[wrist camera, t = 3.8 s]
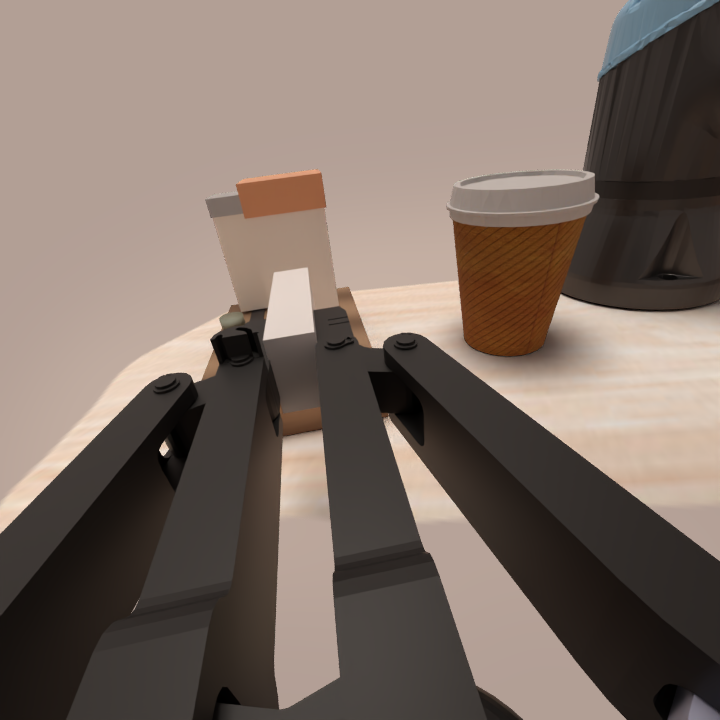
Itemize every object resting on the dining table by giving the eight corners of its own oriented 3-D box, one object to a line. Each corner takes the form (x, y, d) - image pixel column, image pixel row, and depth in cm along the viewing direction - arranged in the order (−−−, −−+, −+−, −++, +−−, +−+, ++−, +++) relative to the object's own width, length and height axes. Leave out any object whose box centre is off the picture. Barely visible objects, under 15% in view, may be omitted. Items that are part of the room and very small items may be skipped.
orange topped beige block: (349, 365, 24) (321, 172, 18) (286, 377, 24) (235, 184, 18) (344, 343, 27) (317, 168, 21) (286, 353, 26) (243, 178, 20)
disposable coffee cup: (444, 313, 36) (446, 177, 29) (551, 312, 33) (578, 164, 27) (443, 367, 28) (446, 196, 21) (583, 369, 26) (631, 180, 19)
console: (388, 416, 24) (384, 371, 22) (199, 451, 23) (179, 407, 21) (351, 309, 39) (347, 277, 37) (238, 327, 38) (228, 296, 36)
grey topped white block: (274, 307, 34) (245, 193, 29) (239, 312, 34) (205, 199, 29) (275, 295, 37) (250, 189, 32) (243, 300, 37) (212, 194, 32)
